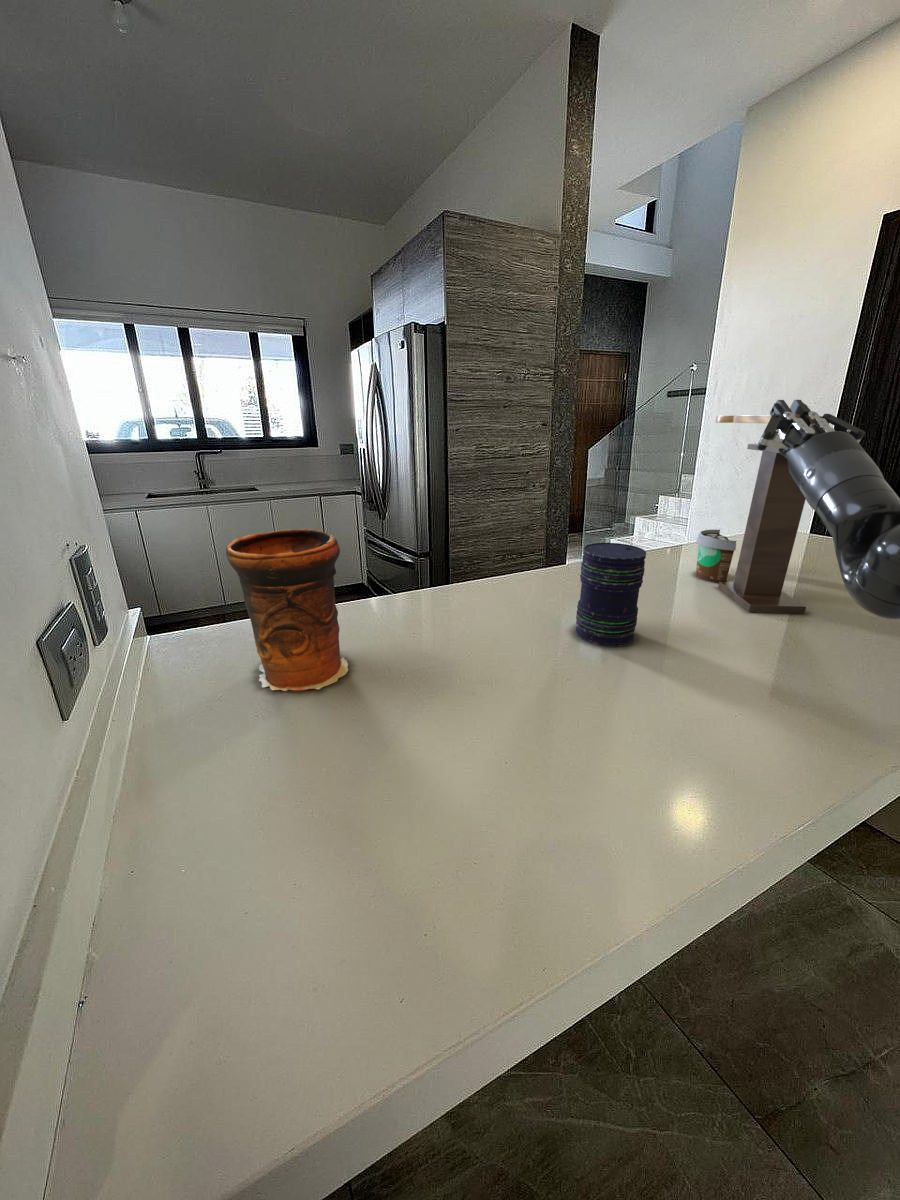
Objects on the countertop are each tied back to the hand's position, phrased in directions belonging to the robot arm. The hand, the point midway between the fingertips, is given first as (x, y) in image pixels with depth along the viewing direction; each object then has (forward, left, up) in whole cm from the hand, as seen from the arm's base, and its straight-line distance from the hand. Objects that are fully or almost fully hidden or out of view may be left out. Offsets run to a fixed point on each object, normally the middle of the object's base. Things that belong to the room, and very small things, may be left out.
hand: (785, 405), depth 71 cm
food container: (-22, -22, -37) cm, 48 cm away
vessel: (+71, -20, -37) cm, 82 cm away
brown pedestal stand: (-18, -7, -36) cm, 41 cm away
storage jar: (+22, -9, -37) cm, 44 cm away
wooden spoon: (-5, -7, -2) cm, 9 cm away
